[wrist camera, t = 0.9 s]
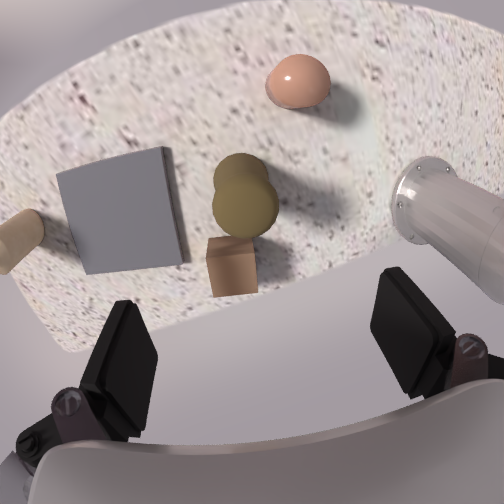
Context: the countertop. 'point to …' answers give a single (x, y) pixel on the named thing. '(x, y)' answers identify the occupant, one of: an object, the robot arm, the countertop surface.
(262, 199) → the olive tall rounded piece
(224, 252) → the walnut block
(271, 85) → the peach blob
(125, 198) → the slate tile
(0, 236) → the candle
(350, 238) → the countertop surface
